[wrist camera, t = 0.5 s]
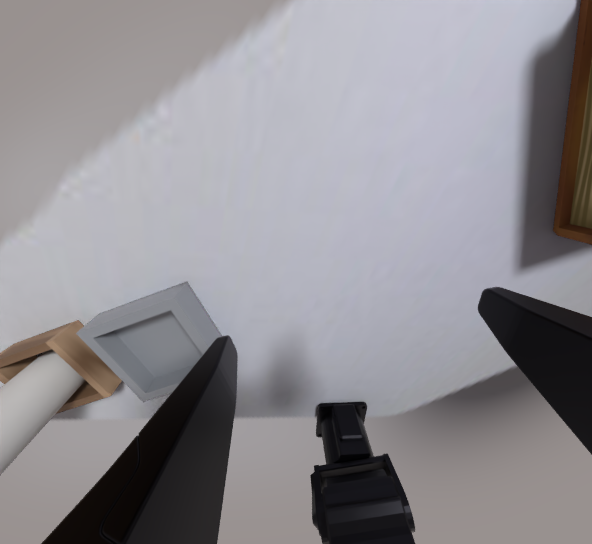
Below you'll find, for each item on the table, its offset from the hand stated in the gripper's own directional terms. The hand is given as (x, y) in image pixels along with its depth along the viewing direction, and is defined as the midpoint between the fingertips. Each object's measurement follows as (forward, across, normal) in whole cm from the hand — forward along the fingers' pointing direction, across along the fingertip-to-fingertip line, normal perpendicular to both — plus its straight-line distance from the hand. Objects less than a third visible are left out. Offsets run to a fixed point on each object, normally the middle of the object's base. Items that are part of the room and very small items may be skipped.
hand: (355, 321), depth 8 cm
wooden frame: (+13, +28, +12) cm, 33 cm away
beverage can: (+13, +28, +12) cm, 33 cm away
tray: (+13, +17, +11) cm, 24 cm away
